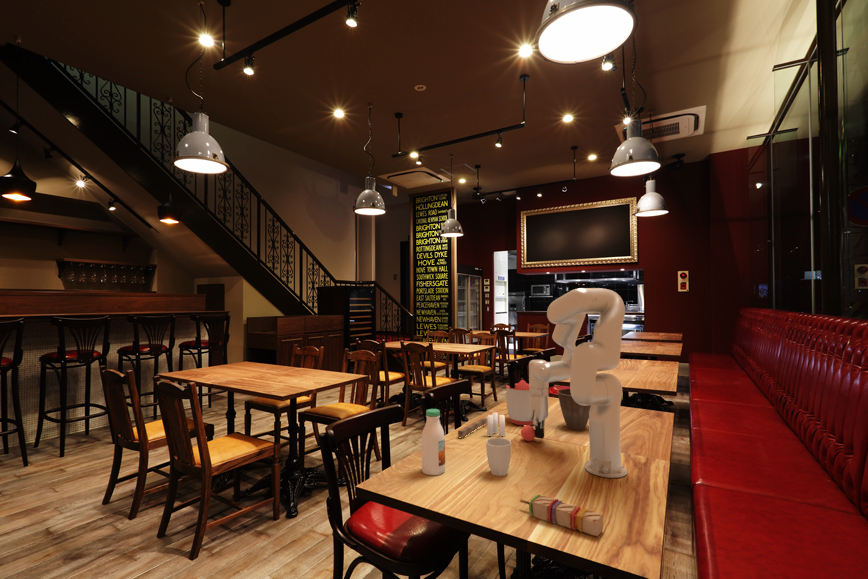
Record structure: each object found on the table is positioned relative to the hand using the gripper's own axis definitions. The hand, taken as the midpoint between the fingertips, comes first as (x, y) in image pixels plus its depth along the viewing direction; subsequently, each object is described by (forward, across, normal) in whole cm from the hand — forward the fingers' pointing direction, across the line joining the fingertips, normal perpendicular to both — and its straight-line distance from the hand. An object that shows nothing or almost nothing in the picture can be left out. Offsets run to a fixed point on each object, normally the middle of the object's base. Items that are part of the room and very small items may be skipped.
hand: (539, 437), depth 163 cm
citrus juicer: (+2, -23, -17) cm, 29 cm away
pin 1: (+2, +3, -20) cm, 21 cm away
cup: (+2, +36, -1) cm, 36 cm away
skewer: (+2, +56, +25) cm, 61 cm away
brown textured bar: (+2, +1, -30) cm, 30 cm away
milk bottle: (+2, +47, -19) cm, 51 cm away
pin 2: (+2, -2, -20) cm, 20 cm away
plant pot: (+2, -27, +7) cm, 28 cm away
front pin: (+2, +1, -16) cm, 16 cm away
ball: (-1, 0, -5) cm, 5 cm away
